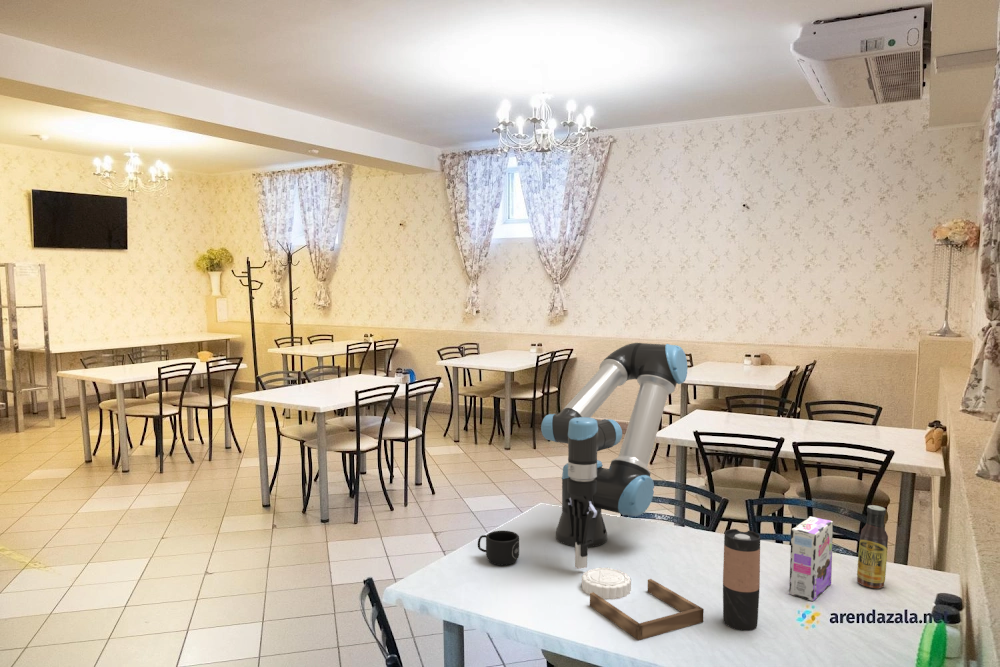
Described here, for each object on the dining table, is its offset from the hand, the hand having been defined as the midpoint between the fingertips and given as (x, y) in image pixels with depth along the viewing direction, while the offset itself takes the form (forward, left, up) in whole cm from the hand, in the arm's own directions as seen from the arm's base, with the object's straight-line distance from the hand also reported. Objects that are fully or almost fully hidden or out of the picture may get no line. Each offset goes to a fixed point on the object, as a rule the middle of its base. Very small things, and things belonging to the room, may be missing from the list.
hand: (580, 567), depth 179 cm
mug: (-17, -16, -2) cm, 23 cm away
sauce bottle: (+39, +61, -2) cm, 73 cm away
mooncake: (+11, 0, -2) cm, 11 cm away
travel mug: (+39, +16, -2) cm, 42 cm away
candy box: (+34, +45, -2) cm, 57 cm away
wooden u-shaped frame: (+26, 0, -2) cm, 26 cm away
